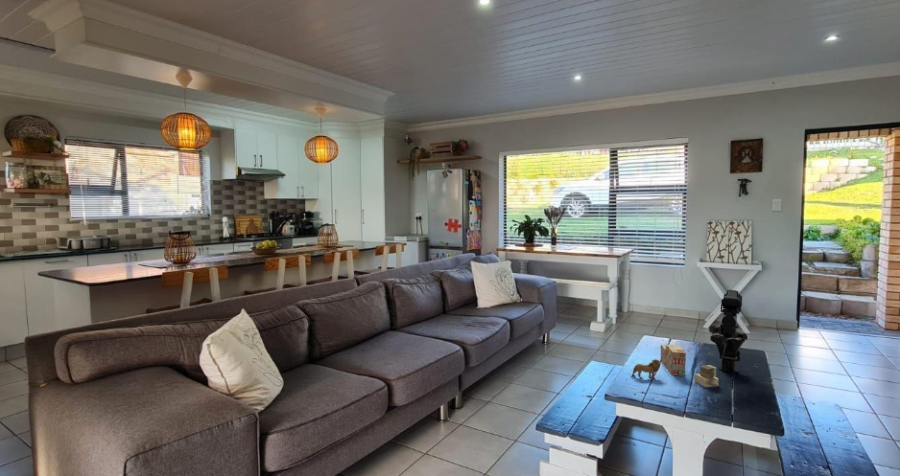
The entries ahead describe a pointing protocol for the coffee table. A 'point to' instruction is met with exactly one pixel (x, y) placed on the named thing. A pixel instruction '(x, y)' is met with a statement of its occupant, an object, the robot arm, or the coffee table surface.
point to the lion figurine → (647, 368)
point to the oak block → (707, 381)
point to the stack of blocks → (673, 359)
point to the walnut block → (707, 371)
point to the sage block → (714, 370)
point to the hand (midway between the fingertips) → (728, 354)
